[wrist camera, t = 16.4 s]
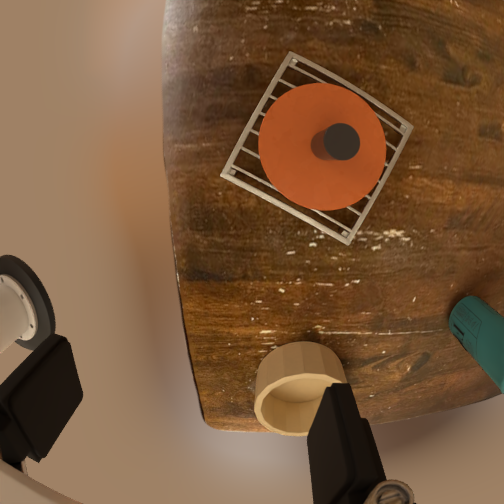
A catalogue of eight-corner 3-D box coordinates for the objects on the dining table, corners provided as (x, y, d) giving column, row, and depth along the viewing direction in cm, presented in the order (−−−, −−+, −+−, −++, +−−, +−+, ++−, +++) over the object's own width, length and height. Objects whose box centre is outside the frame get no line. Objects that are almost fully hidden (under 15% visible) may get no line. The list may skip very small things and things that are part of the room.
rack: (222, 175, 31) (219, 176, 29) (288, 56, 27) (289, 50, 25) (343, 240, 33) (348, 246, 31) (406, 127, 28) (414, 126, 26)
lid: (250, 198, 30) (243, 212, 22) (267, 76, 26) (266, 48, 18) (371, 218, 30) (402, 238, 22) (388, 101, 26) (424, 86, 18)
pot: (251, 399, 40) (248, 432, 34) (264, 336, 37) (262, 368, 31) (328, 405, 40) (334, 437, 34) (351, 345, 37) (363, 376, 30)
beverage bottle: (436, 310, 35) (517, 406, 16) (470, 279, 33) (563, 357, 14) (450, 338, 36) (519, 429, 17) (481, 309, 34) (560, 387, 15)
